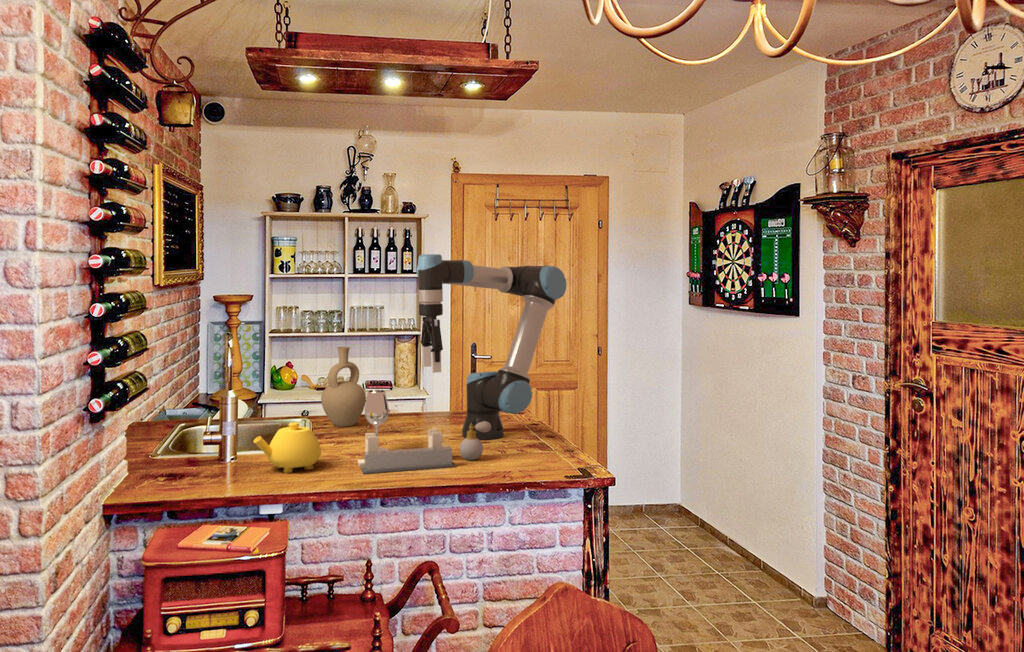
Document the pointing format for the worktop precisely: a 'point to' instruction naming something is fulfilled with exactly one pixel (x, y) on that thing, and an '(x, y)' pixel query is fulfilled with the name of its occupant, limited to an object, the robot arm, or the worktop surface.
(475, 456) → the perfume bottle
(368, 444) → the rack
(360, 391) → the vase
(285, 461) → the teapot
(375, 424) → the wineglass
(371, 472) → the mat
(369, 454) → the rail
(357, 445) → the worktop surface
